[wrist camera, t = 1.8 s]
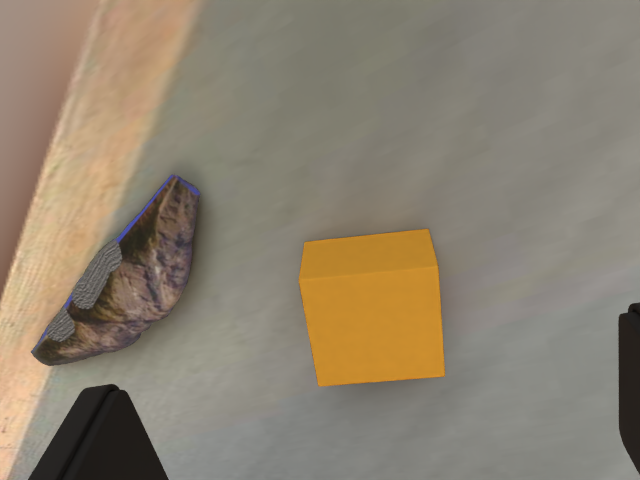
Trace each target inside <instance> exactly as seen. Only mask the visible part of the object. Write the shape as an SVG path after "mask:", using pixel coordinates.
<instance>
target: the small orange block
mask: <svg viewBox="0 0 640 480" xmlns="http://www.w3.org/2000/svg"><path fill="white" fill-rule="evenodd" d="M299 285H300V291H301V296H302V301H303V307H304V312H305V317H306V323H307V328H308V333H309V339H310V344H311V349H312V355H313V360H314V365H315V371H316V376H317V381H318V386H332V385H344V384H357V383H369V382H382V381H395V380H407V379H420V378H432V377H444V376H445V366H444V349H443V333H442V317H441V300H440V284H439V268H438V263H437V259H436V256H435V252H434V248H433V244H432V240H431V236H430V233H429V229H420V230H411V231H402V232H392V233H383V234H373V235H364V236H355V237H345V238H336V239H327V240H317V241H308V242H305V243H304V249H303V255H302V262H301V268H300V275H299Z"/></svg>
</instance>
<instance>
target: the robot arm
mask: <svg viewBox="0 0 640 480" xmlns="http://www.w3.org/2000/svg"><path fill="white" fill-rule="evenodd" d="M619 430H620V435H621V438H622V441H623V444H624V446H625V448H626V450H627V452H628V454H629V456H630V458H631V460H632V461H633V463H634V465H635V467H636V469H637V471H638V472H639V474H640V303H634V304H631V305H630V306H629V309H628V313H623V314H620V316H619ZM28 480H169V479H168V477H167V475H166V473H165V471H164V469H163V467H162V464H161V462H160V460H159V458H158V456H157V454H156V452H155V450H154V448H153V445H152V443H151V441H150V439H149V437H148V435H147V433H146V431H145V428H144V426H143V424H142V422H141V420H140V418H139V416H138V414H137V412H136V409H135V407H134V405H133V403H132V401H131V399H130V397H129V395H128V393H127V392H126V391H125V390H120V389H119V388H118V387H117V386H116V385H114V384H109V385H103V386H96V387H90V388H86V389H84V390H83V391H82V392H81V393H80V395H79V396H78V398H77V400H76V401H75V403H74V405H73V406H72V408H71V409H70V411H69V413H68V414H67V416H66V418H65V419H64V421H63V423H62V424H61V426H60V428H59V429H58V431H57V433H56V434H55V436H54V438H53V439H52V441H51V443H50V444H49V446H48V448H47V449H46V451H45V453H44V454H43V456H42V458H41V459H40V461H39V462H38V464H37V466H36V467H35V469H34V471H33V472H32V474H31V476H30V477H29V479H28Z"/></svg>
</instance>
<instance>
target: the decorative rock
mask: <svg viewBox="0 0 640 480" xmlns="http://www.w3.org/2000/svg"><path fill="white" fill-rule="evenodd" d="M199 197H200V192H199V191H198V189H196V188H195V187H194V186H193V185H192V184H190V183H188V182H187V181H185V180H183V179H182V178H181V177H179V176H177V175H171V176H170V177H169V178H168V180H167V181H166V182H165V183H164V184H163V186H162V187H161V188H160V189H159V191H158V192H157V193H156V194H155V195H154V197H153V198H152V199H151V200H150V202H149V203H148V204H147V205H146V206H145V208H144V209H143V210H142V211H141V213H140V214H139V215H137V216H136V217H135V219H134V220H133V221H132V222H131V223H130V224H129V225H128V226H127V227H126V228H125V230H124V231H123V232H122V233H121V234H120V236H119V237H118V238H116V239H114V240H112V241H111V242H110V243H108V244H107V245H106V246H105V247H104V248H102V249H101V250H100V251H99V252H98V254H97V255H96V256H95V257H94V259H93V260H92V261H91V262H90V264H89V266H88V267H87V269H86V271H85V273H84V275H83V276H82V277H81V279H80V280H79V281H78V282H77V284H76V286H75V288H74V289H73V292H72V293H71V295H70V297H69V298H68V300H67V302H66V303H65V305H64V306H63V307H62V309H61V310H60V312H59V313H58V314H57V316H56V317H55V318H54V319H53V321H52V322H51V323H50V324H49V325H48V327H47V328H46V330H45V332H44V334H43V335H42V337H41V340H40V341H39V342H38V344H37V345H36V346H35V347H34V349H33V350H32V351H31V353H32V354H33V356H34V357H35V358H36V359H37V360H38V361H40V362H41V363H43V364H45V365H48V366H54V365H61V364H67V363H72V362H76V361H78V360H83V359H86V358H89V357H92V356H96V355H100V354H102V353H109V352H115V351H118V350H121V349H122V348H125V347H127V346H129V345H131V344H133V343H134V342H135V341H136V340H137V339H138V338H139V337H140V335H141V332H143V331H146V330H147V329H149V328H150V326H151V324H152V323H153V322H155V321H158V320H161V319H163V318H165V317H167V316H168V314H169V312H170V311H171V310H172V308H173V306H174V304H175V303H176V302H177V301H178V300H179V298H180V296H181V294H182V292H183V289H184V287H185V286H186V284H187V281H188V277H189V272H190V267H191V261H192V245H191V244H192V237H193V234H194V231H195V220H196V213H197V207H198V202H199Z"/></svg>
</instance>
